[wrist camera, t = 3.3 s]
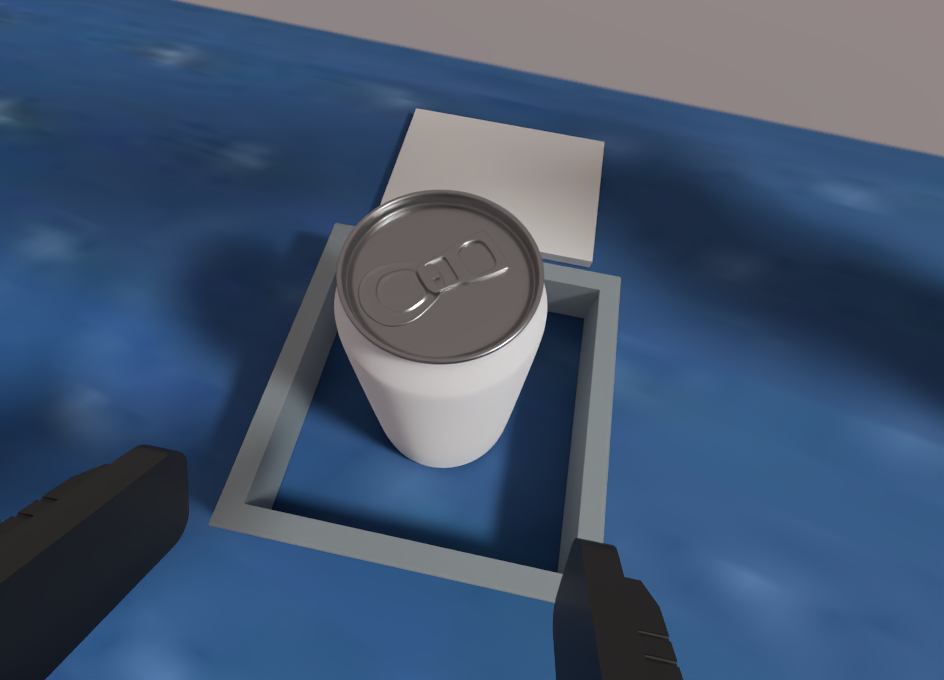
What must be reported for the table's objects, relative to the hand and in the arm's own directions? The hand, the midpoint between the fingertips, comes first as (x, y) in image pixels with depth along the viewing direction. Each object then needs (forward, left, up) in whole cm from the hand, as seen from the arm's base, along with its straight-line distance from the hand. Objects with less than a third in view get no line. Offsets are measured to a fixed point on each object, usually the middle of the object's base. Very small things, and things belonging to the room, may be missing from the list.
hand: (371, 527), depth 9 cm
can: (0, -7, -12) cm, 14 cm away
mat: (0, -22, -12) cm, 25 cm away
